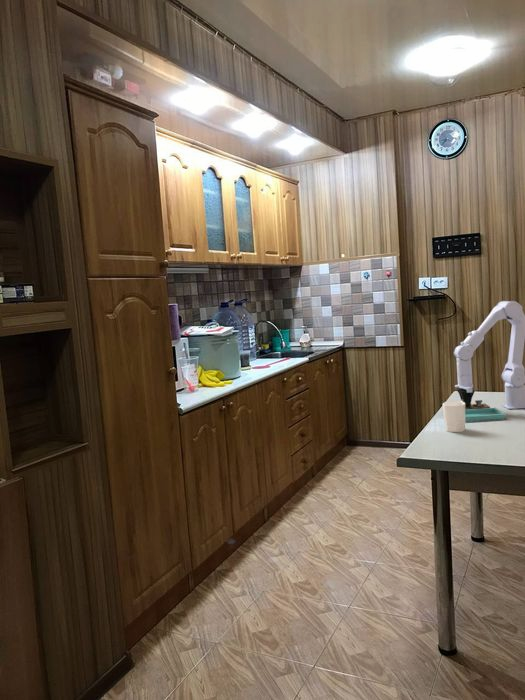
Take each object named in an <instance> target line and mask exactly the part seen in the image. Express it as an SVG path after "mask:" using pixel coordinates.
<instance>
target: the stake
mask: <svg viewBox="0 0 525 700" xmlns="http://www.w3.org/2000/svg"><path fill="white" fill-rule="evenodd" d="M474 403H475V404H476V407H481V404H482V403H483V399H475V400H474Z"/></svg>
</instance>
